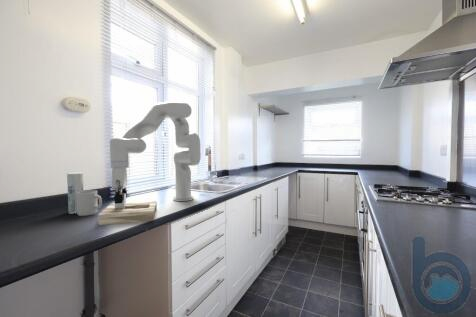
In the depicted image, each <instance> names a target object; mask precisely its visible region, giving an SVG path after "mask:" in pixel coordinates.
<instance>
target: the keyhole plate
mask: <svg viewBox="0 0 476 317" xmlns="http://www.w3.org/2000/svg"><path fill="white" fill-rule="evenodd" d="M157 204H158V203H157V201H140V202H126V206H125V209H117V210H116V208H115V203H110V204H108V205H107V206H106V207H105V208H104V209H103V210H102V211H101V212H100V213H99V214H97V215H98V218H97V219H98V221H97V222H98V226H105V225H106V226H107V225H117V224H119V225H120V224H129V223H139V222H141V221H142V222H150V221H155V211H157V210H158V208H157V206H158V205H157Z"/></svg>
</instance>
